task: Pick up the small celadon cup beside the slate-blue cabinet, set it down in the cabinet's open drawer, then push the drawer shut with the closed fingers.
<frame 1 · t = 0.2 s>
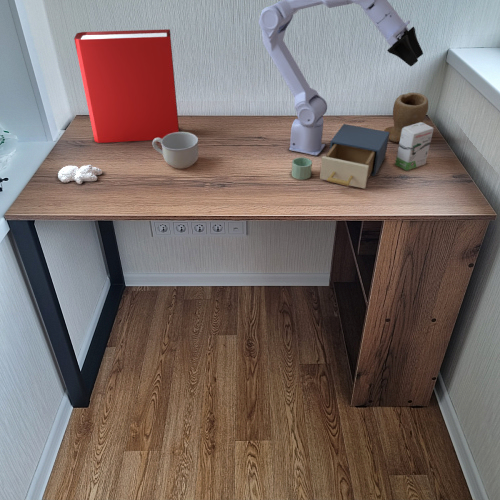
hand: (417, 60, 132), 31 cm above the table, tool tilted 50°, fingers open, 7 cm apart
book: (137, 136, 169), on the table
white plush toy: (80, 177, 147), on the table
drawer: (346, 167, 143), point 4 cm above the table, slide at 8.5 cm
cup: (301, 174, 148), on the table
cabinet: (357, 161, 154), on the table
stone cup: (407, 140, 167), on the table
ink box: (410, 164, 153), on the table
teacup: (177, 163, 153), on the table
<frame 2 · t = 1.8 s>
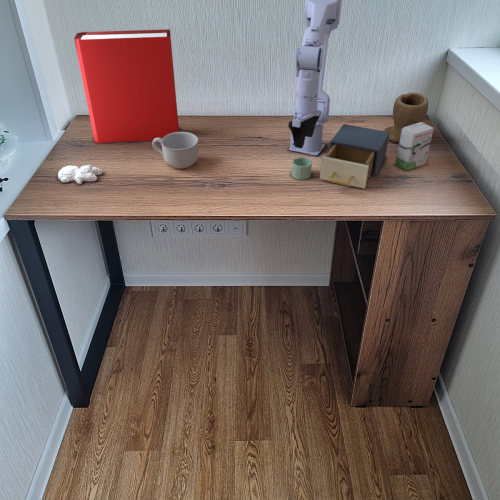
hand: (303, 141, 141), 10 cm above the table, tool pointing down, fingers open, 7 cm apart
nothing on the table moved.
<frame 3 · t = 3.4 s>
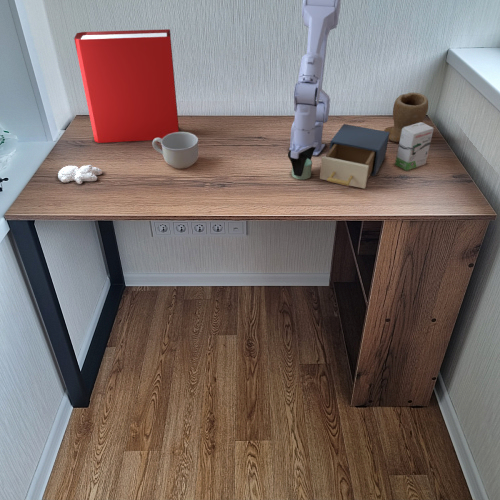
hand: (301, 170, 147), 1 cm above the table, tool pointing down, fingers closed on cup, 5 cm apart
cup: (301, 174, 148), on the table, touching gripper
everything else where it was.
when the fingers open (4 cm above the table, at t = 10.5 s): cup stays where it is, resting on drawer.
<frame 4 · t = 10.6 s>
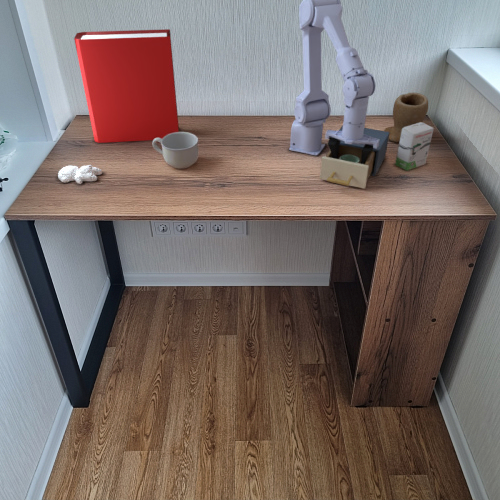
hand: (348, 165, 144), 4 cm above the table, tool pointing down, fingers open, 7 cm apart
drawer: (346, 167, 143), point 4 cm above the table, slide at 8.5 cm, touching cup, gripper
cup: (347, 172, 145), point 2 cm above the table, touching drawer
everything else where it was.
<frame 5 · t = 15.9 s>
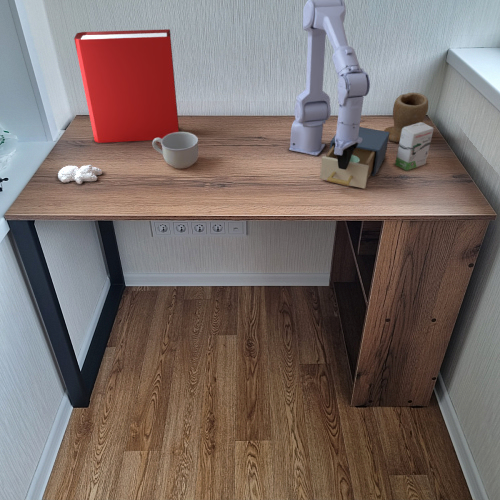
hand: (342, 168, 138), 6 cm above the table, tool pointing down, fingers closed
nothing on the table moved.
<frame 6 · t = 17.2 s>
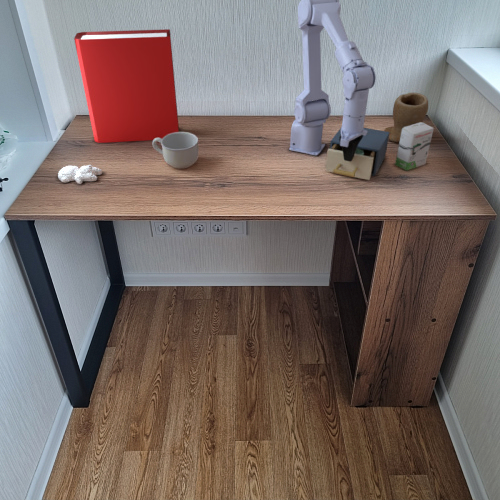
hand: (348, 160, 142), 6 cm above the table, tool pointing down, fingers closed
drawer: (352, 159, 146), point 4 cm above the table, slide at 3.3 cm, touching cup, gripper
cup: (352, 164, 149), point 2 cm above the table, touching drawer
everything else where it was.
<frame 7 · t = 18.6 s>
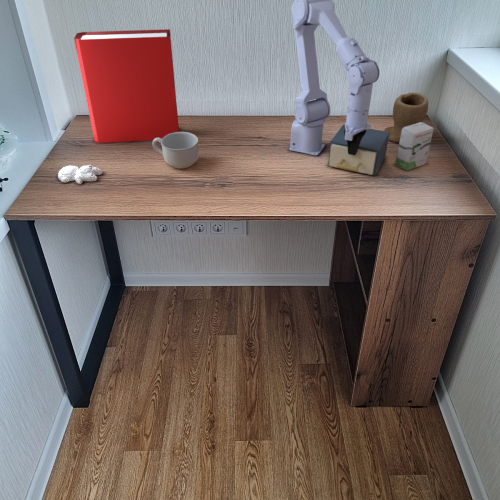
hand: (352, 154, 145), 6 cm above the table, tool pointing down, fingers closed, pressing on drawer
drawer: (355, 154, 149), point 4 cm above the table, slide at 0.0 cm, touching cabinet, cup, gripper
cup: (355, 159, 151), point 2 cm above the table, touching drawer
everything else where it was.
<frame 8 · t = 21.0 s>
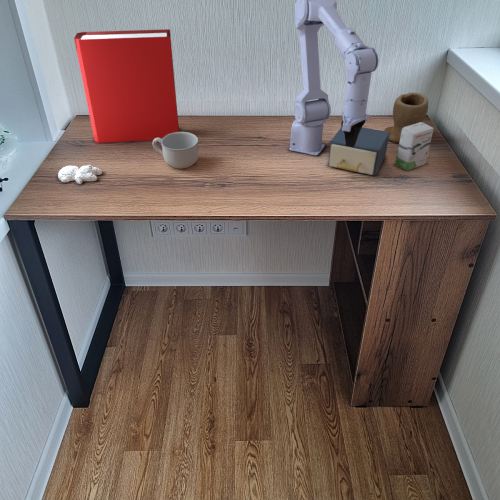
hand: (350, 146, 139), 10 cm above the table, tool pointing down, fingers closed
drawer: (355, 154, 149), point 4 cm above the table, slide at -0.1 cm, touching cabinet, cup
everything else where it was.
at the end: cup inside the target area in the cabinet (1.5 cm from its centre), point 1.8 cm above the cabinet's base; cup tilted 0°; drawer slide at -0.1 cm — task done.
